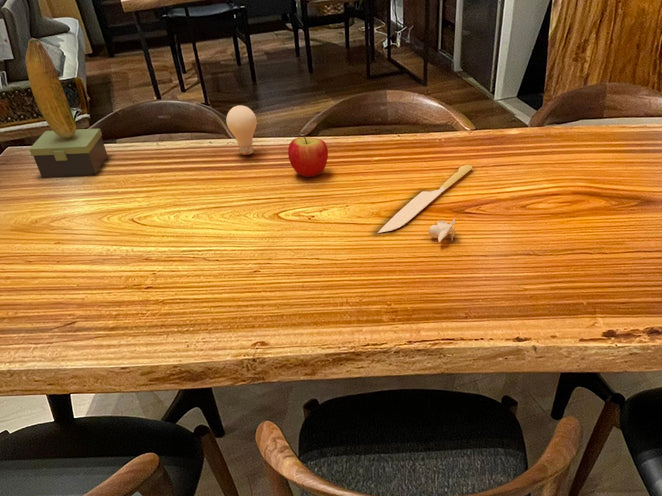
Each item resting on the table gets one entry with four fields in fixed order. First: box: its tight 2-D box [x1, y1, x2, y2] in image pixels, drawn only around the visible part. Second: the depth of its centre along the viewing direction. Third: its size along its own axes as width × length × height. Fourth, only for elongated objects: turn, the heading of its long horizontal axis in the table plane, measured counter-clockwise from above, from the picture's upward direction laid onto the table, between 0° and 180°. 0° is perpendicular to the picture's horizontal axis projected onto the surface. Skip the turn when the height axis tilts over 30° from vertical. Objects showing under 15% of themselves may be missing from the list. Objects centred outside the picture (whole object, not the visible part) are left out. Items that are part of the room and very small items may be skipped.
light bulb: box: [225, 104, 258, 156], centre depth 140 cm, size 7×7×11 cm
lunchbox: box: [28, 128, 109, 178], centre depth 140 cm, size 12×11×6 cm
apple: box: [287, 129, 329, 178], centre depth 132 cm, size 8×8×10 cm
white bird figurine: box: [428, 217, 457, 243], centre depth 112 cm, size 8×5×5 cm, turn 177°
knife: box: [377, 164, 473, 234], centre depth 125 cm, size 1×34×5 cm
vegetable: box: [25, 37, 77, 138], centre depth 131 cm, size 6×6×20 cm
